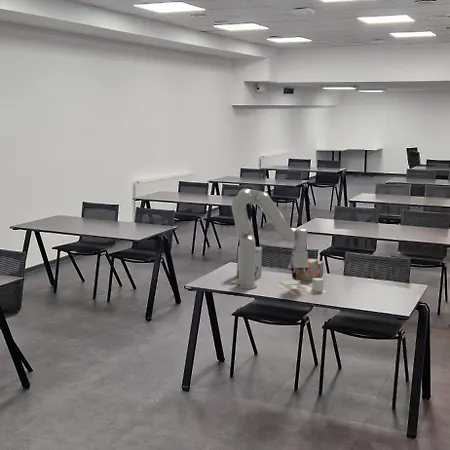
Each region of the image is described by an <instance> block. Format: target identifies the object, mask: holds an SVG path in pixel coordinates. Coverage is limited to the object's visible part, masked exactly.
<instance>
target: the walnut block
mask: <svg viewBox="0 0 450 450" xmlns="http://www.w3.org/2000/svg"><path fill="white" fill-rule="evenodd" d="M295 272H296V278H295V279H294V278H292V279H293V280H296V281H298V282H300V281H305V280H304V269H303V268H296V271H295Z"/></svg>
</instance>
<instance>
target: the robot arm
mask: <svg viewBox="0 0 450 450" xmlns="http://www.w3.org/2000/svg"><path fill="white" fill-rule="evenodd" d="M248 204H253V205H257V206H258V207H259V208H260V210H261V211H262V212H263V214H264V215H265V216H266V219H268V220H269V222H270V224H271V225H272V226H273V227H274V229H275V230H276V231H277V232H278V234H279V235H280V237H282V239H283V241H285V242H287V243H292V242H293V241H294V242H293V247H291V250H292V253H291V257H290V263H289V264H288V265H287V268H288V269H289V270H290V271H291V273H292V274H291V277H292V279H293V278H294V279H295V278H296V272H295V271H296V268H303V269H304V275H305V272H306V270H307V269H308V268H309V267H310V265H309V264H308V259H309V255H308V254H309V253H308V251H307V244H308V243H307V242H308V241H307V240H308V230H307V229H305V228H292V227H291V226H290V225H289V224H288V222H287V221H286V219H285V218H284V215H283V214H282V212H281V211H280V209H279V208H278V207H277V205H276V204H275V202H274V201H273V200H272V198H271V197H270V195H269V193H267V192H265V191H262V190H261V191H260V190H255V189H254V190H253V189H251V188H250V189H249V188H242V189H240V190H239V191H238V194H236V196H235V197H234V198H233V200H232V203H231V211H232V216H233V220H234V226H235V230H236V232H237V237H238V240H239V245H238V247H239V277H238V278H237V279H236V280H231V284H232V285H236V287H237V288H238V289H243V290H252V289H256V288H257V286H258V285H257V284H256V283H255V279H254V274H255V247H256V238H255V235H254V231H253V228H252V222H251V221H250V218H249V216H248V212H247V205H248ZM294 279H293V280H294Z"/></svg>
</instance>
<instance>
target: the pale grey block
mask: <svg viewBox="0 0 450 450" xmlns="http://www.w3.org/2000/svg"><path fill="white" fill-rule="evenodd" d="M311 284H312V290H313V291H315V292H319V291H323V290H324V279H323V278H321V277H318V278H312V280H311Z"/></svg>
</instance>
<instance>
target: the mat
mask: <svg viewBox="0 0 450 450" xmlns="http://www.w3.org/2000/svg"><path fill="white" fill-rule="evenodd" d="M278 283H280V284H282V286H292V285H303V283H302V282H300V281H296V280H294V279H293V280H281V281H280V280H279V281H278Z"/></svg>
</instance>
